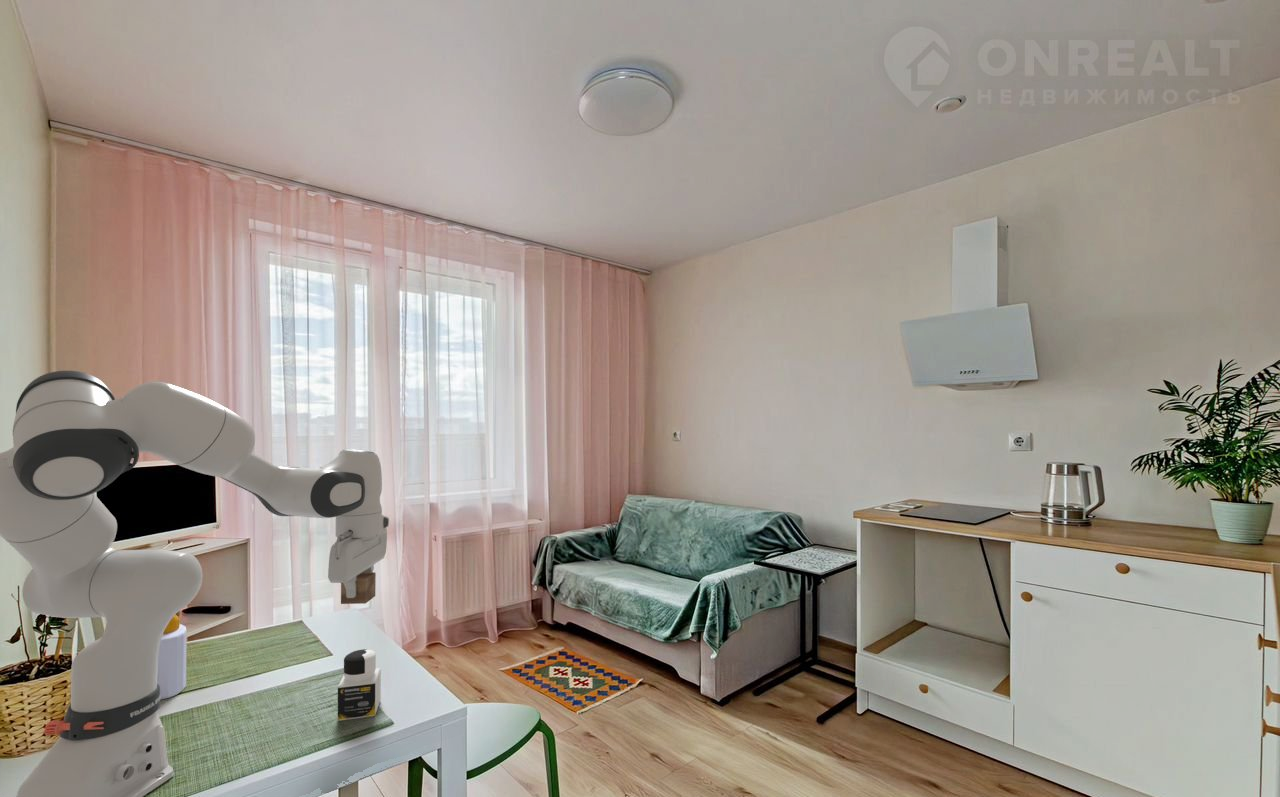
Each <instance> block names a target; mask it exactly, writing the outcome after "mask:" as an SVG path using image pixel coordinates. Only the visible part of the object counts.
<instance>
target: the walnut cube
mask: <svg viewBox="0 0 1280 797" xmlns="http://www.w3.org/2000/svg"><path fill="white" fill-rule="evenodd" d="M376 575H377V573H376V572H374V571H373V572H369V573H360V574H359V575H357V577H356V581H355V583H356V587H358V595H357V596H356V597H354V598H347V597H346V588H345V586H344V584H343V583H340V604H341V605H350V604H351V605H353V604H354V605H355V604H359V605H361V604H362V605H364V604H367V603H368V602H369V601H371V600H372V599H374V598H375V597H376V583H377V582H376Z"/></svg>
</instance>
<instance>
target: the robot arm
mask: <svg viewBox="0 0 1280 797" xmlns="http://www.w3.org/2000/svg"><path fill="white" fill-rule="evenodd" d="M12 440H13V441H12V442H13V447H12V448H10V449H8V450H6V451H3V452H0V537H2V538H3V539H4V540H5V541H6V543H8V544H9V545H10V546H11V547H12V548H13V549H14V550H16V551H17V553H18V554H20V556H22V557H23V558H24V560H26V561H27V562H28V563H29V564H30V566H31V567H32V569H30V571H29V573H28V574H27V575H26V577H25V579H24V582H23V585H22V589H21V590H22V591H21V592H22V595H21V596H22V599H23V602H24V604H25V606H26V608H27V609H28V610H30V612H32V613H35V614H39V615H43V616H44V615H45V616H50V617H55V618H62V619H75V618H76V619H77V618H78V619H80V618H105V628H104V632H103V633H102V636H101V637H99V638H98V639H96V640H94V641H93V642H91V643H89V644H88V645H86V646H85V647H83V649H81V651H79V653H78V654H77V655H76V656H75V657H74V659H73V661H72V663H71V666H70V667H71V671H70V673H71V674H70V704H69V706H68V707H67V709H66V712H65V715H64V718H63V720H51V721H49V722H47V724H46V725H45V727H44V730H43V732H44V735H46V736H52V735H59V738H58V739H57V740H56V742H55V743H54V744H52V747H51V748H50V749H49V750H48V752H47V753H46V754H45V755H44V756H43V757H42V759H41V760H40V762H39V763H38V764H37V765H36V766H35V768H34V769H33V770H32V771H31V773H30V774H29V775H28V776H27V777H26V778H25V780H24V781H23V782H22V784H20V787H18V790H17V793H16V795H15V797H144V796H146V795H147V794H148V793H150V792H152V791H153V790H155V789H156V788H158V787H159V786H161V785H162V784H164V783H166V782H167V781H168V780H170V779H171V778H173V776H174V774H175V772H174V768H173V767H172V766H171V765H169V760H168V752H167V751H168V750H167V740H166V735H165V734H166V733H165V728H164V726H163V722H162V721H161V718H160V716H159V711H158V710H159V709H160V708H161V700H160V698H161V693H160V686H159V684H157V668H158V654H159V646H160V641H161V638H162V635H163V633H164V630H165V628H166V627H167V625H168V623H169V622H170V620H171V619H172V618H173V617H174V615H177V613H179V612H181V610H183V609H184V608H186V606H188V605H189V604H190V603H191V602H192V601H193V600H194V599H195V598H196V596H197V595H198V593H199V591H200V590H201V587H202V583H203V579H204V578H203V577H204V573H203V568H202V565H201V564H200V561H199V560H198V559H197V557H196V556H194V555H193V554H191V553H188V552H184V551H183V552H182V551H177V550H172V549H166V548H165V549H164V548H163V549H161V548H157V549H156V548H155V549H117V548H114V547H111V546H112V545H113V543H114V542H115V539H116V535H117V532H118V522H117V519H116V517H115V516H114V515H113V514H112V513H111V512H110V510H109V509H108V508H107V507H106V506H105V504H104V503H102V501H101V500H100V498H98V496H97V495H96V494H95V493H97V492H99V491H101V490H104V488H107V487H108V486H109V485H110V484H112V483H113V482H114V481H115V480H116V479H117V478H118V477H119V476H120V475H121V474H124V473H125V472H128V471H130V470H132V469H133V468H134V467H135V466H136V465H137V464H138V461H139V457H140V453H146V454H150V455H154V456H157V457H160V458H162V459H164V460H166V461H169V462H170V463H173V464H176V465H177V466H180V467H182V468H185V469H188V470H190V471H194V472H196V473H200V474H203V475H208V476H212V477H217V478H220V479H222V480H225V481H226V482H228V483H231V484H233V485H235V486H236V487H239V488H241V489H242V490H245V491H247V492H248V493H251V495H254V496H255V497H256V498H257V499H258V500H259V502H261V504H262V505H263V506H264V508H266V509H267V510H268V511H269V512H270V513H272V515H275V516H279V517H301V518H302V517H303V518H316V519H331V518H335V537H336V541H335V542H334V543H333V544H332V545H331V547H330V550H329V557H328V568H327V569H328V570H327V574H328V575H327V578H328V580H329V582H330V583H331V584H341V583H343V584H344V586H345V588H346V597H347V598H354V597H356V596H357V595H358V587H356V583H355V581H356V577H357V575H359V574H360V573H369V572H374V568H375V566H374V565H376V564H377V563H380V561H382V560H383V559H384V558H385V557H386V556H385V555H386V553H387V542H388V530H387V528H388V527H389V526H390V518H389V517H388V516H385V515H384V514H383V507H382V505H381V495H382V492H383V474H382V465H381V461H380V458H379V455H378V454H377V453H375V452H373V451H371V450H363V449H353V448H352V449H351V448H349V449H347V448H346V449H342V450H340V451H339V453H338V455H337V456H336V457H335V458H333V460H330V461H329V462H328V463H327V464H324V465H323V466H320V467H319V468H316V467H315V468H313V467H300V466H290V465H287V466H286V465H283V466H282V465H281V466H278V465H275V464H273V463H271V462H269V461H267V460H266V459H264V458H263V457H260V456H259V455H257V454H256V453H253V450H254V448H255V444H256V433H255V430H254V427H253V426H252V425H251V424H250V423H249V422H248V421H246V420H245V419H244V418H243V417H241V416H240V415H239V414H237V413H236V412H234V411H233V410H231V409H229V408H227V407H225V406H223V405H222V404H220V403H218V402H216V401H214V400H213V399H210V398H208V397H206V396H203V395H201V394H199V393H196V392H193V391H191V390H188V389H186V388H183V387H180V386H179V385H178V386H177V385H174V384H172V383H168V382H165V381H148V382H144V383H142V384H139V385H137V386H135V387H134V388H132V389H130V390H129V391H128V392H127V393H126V394H124V396H123V397H119V398H115V397H114V394H113V392H112V391H111V389H110V388H109V387H108V385H106V384H105V383H104V382H103V381H102V380H101V379H99V378H98V377H96V376H94V375H91V374H89V373H86V372H83V371H76V370H56V371H50V372H47V373H44V374H42V375H40V376H38V377H36V378H35V379H33V380H32V381H31V382H30V383H29V384H27V386H26V387H25V388H24V390H23V391H22V393H21V394H20V396H19V398H18V400H17V402H16V408H15V417H14V421H13V426H12ZM132 459H133V460H132ZM131 461H132V462H131Z"/></svg>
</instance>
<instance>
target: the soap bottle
mask: <svg viewBox="0 0 1280 797" xmlns="http://www.w3.org/2000/svg"><path fill="white" fill-rule="evenodd" d="M187 633H188V632H187V627H186V626H185V625H184V624H183V623H182V624H181V623H180V618H179V616H178V615H177V614H175V615H174V617H173V618H172V619H171V620H170V622H169V623H168V625H167V627H166V628H165V630H164V633H163V635H162V638H161V641H160V646H159V654H158V668H157V684H159V686H160V693H161V698H160V701H161V700H165V699H170V698H172V697H174V696H177V695H178V694H179V693H182V692H183V691H184V689H185V688H186V686H187V654H188V653H187V648H188V647H187V644H188V643H187V641H188V640H187V638H188V637H187V636H188V634H187Z"/></svg>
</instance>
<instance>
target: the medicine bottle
mask: <svg viewBox="0 0 1280 797" xmlns="http://www.w3.org/2000/svg"><path fill="white" fill-rule="evenodd" d="M376 656H377V654H376V652H375V651H374V650H372V649H364V648H363V649H358V650H353V651H351V652H350V653H348V654H347V655H345V657H344V658H343V676H342V678H341V680H340V682H339V683H338V685H337V721H338V722H341V721H348V720H355V719H363V718H370V717H375V716H376V715H377V714H376V713H377V711H378V708H379V705H380V702H381V701H382V700H381V698H382V697H381V696H382V695H381V694H382V693H381V692H382V691H381V690H382V688H381V685H382V684H381V682H382V681H381V680H382V679H381V676H382V675H381V674H382V671H381V669H382V668H381V667H376V666H377V664H376V661H377V658H376Z"/></svg>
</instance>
